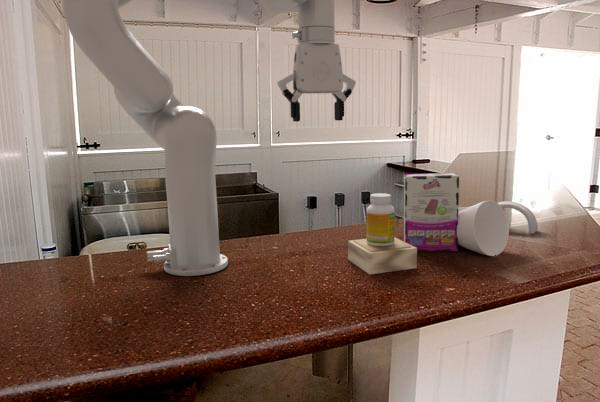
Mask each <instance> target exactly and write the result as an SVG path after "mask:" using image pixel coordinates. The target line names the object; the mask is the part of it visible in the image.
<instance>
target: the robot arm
mask: <svg viewBox="0 0 600 402" xmlns="http://www.w3.org/2000/svg"><path fill="white" fill-rule="evenodd" d="M132 1H133V0H61V3H62V9H63V14H64V18H65V22H66V25H67V27H68V30H69V32H70V34H71V36H72V38H73V40H74V41H75V43H76V44H77V46H78V47H79V49H81V51H82V52H83V54H84V55H85V56H86V57H87V59H88V60H90V61H91V63H92V64H93V66H95V67H96V69H97V70H98V71H99V72H100V73H101V74H102V75H103V76H104V78H106V80H107V81H108V82H109V83H110V84H111V85H112V87H113V92H114V96H115V98H116V101H117V102H118V103H119V106H121V107H122V109H123V110H124V111H125V112H126V113H127V114H128V115H129V117H131V118H132V119H133V120H134V121H135V123H136V124H137V125H138V126H139V127H140V128H141V129H142V130H143V131H144V132H145V133H146V134H147V135H148V136H149V137H150V138H151V139H152V140H153V141H154V142H155V143H156V144H157V145H158V146H159V147H160V148H161V149H163V150H164V154H165V155H164V166H165V167H164V177H165V191H166V202H167V203H166V205H167V217H168V228H169V229H168V230H169V243H168V244H167V245H168V247H163V250H149V251H148V250H147V251H146V257H147V262H152V261H153V262H154V263H155V264H156V263H161V262H164V263H163V270H164V271H165V273H167V274H170V275H173V276H180V277H195V276H203V275H205V276H206V275H210V274H214V273H217V272H220V271H222V270H224V269H225V268H226V267H227V266H228V264H229V259H228V257H227V256H226V255H225V254H221V253H220V249H221V248H220V236H219V233H220V231H219V217H218V216H219V215H218V200H217V196H218V195H217V183H216V182H217V181H216V156H217V153H216V152H217V140H218V139H217V129H216V127H215V124H214V121H213V120H212V118H211V117H210V115H209V114H207V112H205V111H204V110H203V109H200V108H199V107H196V106H191V105H185V106H184V105H183V103H182V102H181V101H180V100H179V99H178V98H177V96H176V95H175V94H174V85H173V81H172V80H171V76H169V74H168V73H167V71H166V70H165V69H163V67H162V66H161V65H160V64H159V62H157V61H156V60H155V59H154V58H153V57H152V56H151V54H150V53H149V52H148V51H147V50H146V49H145V47H143V45H142V44H141V43H140V42H139V41H138V40H137V38H136V37H135V36H134V35H133V33H132V32H131V31H130V29H129V28H128V27H127V25H126V24H125V23H124V21H123V19H122V16H121V14H120V11H119V9H121V8H122V7H124V6H125V5H127V4H129V3H130V2H132ZM258 1H259V4H260V5H261V6H262V7H263V8H264V9H265V10H266V11H268V12H271V13H273V14H285V13H286V14H287V13H298V14H297V15H298V30H297V31H293V32H292V35H291V36H292V40H297V44H296V45H295V52H294V58H293V69H292V72H291V73H290V74H288V75H287V76H285V77H284V78H281V79H280V80H278V81H277V86H278V87H279V89H280V91H281V94H282V95H283V96H284V98H285V99H287V101H288V102H289V103H290V118H291V119H292V122H296V123H297V122H301V102H299V99H300V97H302V95H303V94H331V95H332V96H333V97H334V99H335V102H334V103H333V104H334V106H333V107H334V109H333V110H334V120H335V121H343V119H344V118H343V117H345V102H346V101H347V99H348V98H349V97H350V95H351V94H352V93H353V90H354V88H355V86H356V84H357V83H356V81H355V79H353V78H351V77H349V76H347V75H345V74H344V73H343V63H342V62H343V61H342V57H341V56H342V55H341V51H340V46H339V44H337V43H335V29H336V28H335V23H336V22H335V0H258ZM290 82H292V89H293V92H291V91H290V90H289V88H288V86H287V85H288V84H289V83H290ZM344 84H346V87H345V89H344V90H343V87H344Z"/></svg>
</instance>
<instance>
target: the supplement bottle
mask: <svg viewBox="0 0 600 402" xmlns="http://www.w3.org/2000/svg"><path fill="white" fill-rule="evenodd" d="M369 197H370V199H369V200H370V202H369V203H371V204H370V205H368V206H367V208H366V239H367V243H368V244H370V245H372V246H390V245H393V244H394V237H395V230H396V229H395V228H396V227H395V222H396V217H395V216H396V215H395V214H396V211H395V207H394V206H393V205H392V204H391V203H392V194H389V193H380V192H379V193H372V194H370V196H369Z"/></svg>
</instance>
